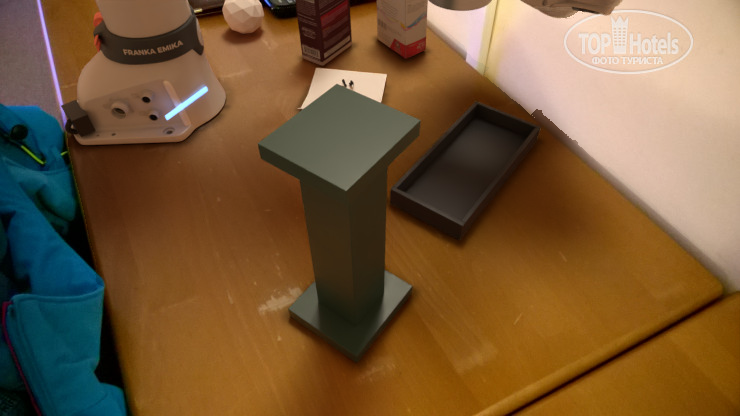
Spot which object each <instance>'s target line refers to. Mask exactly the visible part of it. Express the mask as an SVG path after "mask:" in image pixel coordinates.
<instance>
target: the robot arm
mask: <svg viewBox="0 0 740 416" xmlns="http://www.w3.org/2000/svg"><path fill="white" fill-rule="evenodd" d="M94 1H95V4H96V6H97V8H98V11H97V12H96V13H95V14H94V16H93V21H92V25H93V27H94V29H93V34H92V35H93V38H94V41H93V43H94V47H95V48H96V51H97V53H96V54H95V55H94V56H93V57H92V58H91V59H90V60H89V61H88V62H87V63H86V64H85V65H84V66H83V68H82V70H81V72H80V75H79V76H78V80H77V85H76V97H77V99H74V100H71V101H69V102H66V103H64V104H61V105H60V107H61V109H62V111H63V112H64V114H65V116H66V117H67V120H66V122H65V124H64V128H65V130H66V132H67V133H68V134H71V135H73V138H75V140H76V141H77V143H78V144H80V145H83V146H96V145H98V146H99V145H123V144H125V145H126V144H150V143H151V144H153V143H154V144H155V143H177V142H183V141H184V140H187V138H188V137H189V136H190V135H192V133H193V132H194V131H195V130H196V129H197V128H199V127H200V126H203V124H206V123H207V122H209V121H210V120H212V119H213V118H214V117H216V116H217V115H218V114H219V113H220V111H221V110H222V109H223V107H224V105H225V103H226V99H227V94H226V91H225V89H224V87H223V85H222V84H221V83H220V81H219V80H218V78H217V76H216V74H215V73H214V70H213V68H212V66H211V64H210V61H209V59H208V57H207V55H206V52H205V42H204V37H203V33H202V29H201V26H200V22H199V19H198V18H197V15H196V13H195V10H194V8H193V7H192V5H190V3H189V0H94ZM623 1H624V0H520V2H521V3H523V4H526V5H527V6H529V7H531V8H532V9H534V10H537V11H538V12H540V13H542V14H543V15H545V16H547V17H550V18H554V19H561V18H565V19H568V18H567V17H570V16H572V15H574V14H575V13H577V12H578V11H582V12H584V13H588V14H592V15H602V16H607V17H608V16H610V15H612V13H613V11H614V10H615V8H616V7H618V6H620V5H621V4H622V2H623Z"/></svg>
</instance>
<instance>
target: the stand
mask: <svg viewBox="0 0 740 416" xmlns="http://www.w3.org/2000/svg"><path fill="white" fill-rule="evenodd" d="M421 123H422V119H419V118H417V117H415V116H413V115H410V114H408V113H406V112H404V111H401V110H398V109H396V108H395V107H392V106H389V105H387V104H385V103H382V102H381V103H380V102H378V101H376V100H373V99H371V98H369V97H366V96H364V95H362V94H360V93H357V92H355V91H353V90H350V89H348V88H346V87H343V86H341V85H339V84H336V85H334V86H333V87H332V88H330V89H329V90H328V91H326V92H325V93H324V94H322V95H321V96H320V97H318V98H317V99H316V100H314V101H313V102H312V103H310V104H309V105H308V106H306V107H305V108H304V109H300V111H298V112H297V113H296V114H295V115H293V116H292V117H291V118H289V119H288V120H286V121H285V122H284V123H282V124H280V126H279V127H277V128H276V129H275V130H273V131H272V132H270V133H269V134H267V136H265V137H264V138H262V139H261V140H260V141H259V142H258V143H257V148H258V152H259V157H260V160H262V161H264V162H266V163H267V164H269V165H271V166H273V167H275V168H276V169H278V170H280V171H282V172H283V173H285V174H287V175H289V176H291V177H292V178H295V179H296V180H298V181H299V189H300V194H301V200H302V208H303V214H304V220H305V226H306V232H307V239H308V245H309V251H310V258H311V265H312V270H313V278H314V281H313V282H312V283H311V284H310V285H309V286H308V287H307V288H306V289H305V290H304V291H303V292H302V293H301V295H300V296H299V297H298V298H297V299H295V301H294V302H292V304H291V305H290V306H289V307H288V308H287V310H288V315H289V317H290V318H292V319H293V320H295V322H298V323H299V324H300V325H302V326H303V327H305V328H306V329H308V330H309V331H310V332H312V333H313V334H315V335H316V336H317V337H318V338H320V339H322V340H323V341H324V342H325V343H327V344H329V345H330V346H331V347H333V348H335V349H336V350H337V351H339V352H340V353H341V354H342V355H345V356H346V357H347V358H349V359H350V360H351V361H352V362H354V363H356V364H358V363H359V362H360V360H361V359H362V358H363V357H364V355H365V354H367V351H368V350H369V349H370V348H371V346H372V345H373V344H374V343H375V341H376V340H377V339H378V337H379V336H380V335H381V333H382V332H383V331H384V330H385V329H386V327H387V326H388V325H389V324H390V322H391V321H392V320H393V318H394V317H395V316H396V315H397V313H398V312H399V311H400V310H401V308H402V307H403V306H404V304H405V303H406V302H407V300H408V299H409V298H410V297H411V296H412V294H413V287H414V286H413V285H412V284H410V283H409V282H407V281H406V280H404V279H402V278H400V277H398V276H397V275H395V274H393V273H392V272H390V271H388V270H386V243H387V242H386V241H387V240H386V238H387V237H386V236H387V203H388V171H389V170H388V169H389V166H391V164H392V163H393V162H395V160H396V159H397V158H398V157H399V156H401V155H402V153H403V152H404V151H406V149H408V147H410V146H411V145H412V144H413V143H414V142H415V141H416V140H417V139H418V138H419V137H420V134H421V125H422V124H421Z"/></svg>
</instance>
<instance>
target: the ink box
mask: <svg viewBox="0 0 740 416" xmlns="http://www.w3.org/2000/svg"><path fill="white" fill-rule="evenodd" d="M428 7H429V0H376V32H377V33H376V38H377V40H378V41H380V42H381V43H382V44H384V45H385V46H387V47H388V48H389V49H391V50H392V51H393V52H395V53H396V54H398V55H399V56H401V57H402V58H403V59H409V58H411V57H413V56H416V55H418V54H420V53H422V52H425V51H426V48H427V47H426V46H427V29H428V28H427V27H428V24H427V23H428Z"/></svg>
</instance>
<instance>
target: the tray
mask: <svg viewBox="0 0 740 416" xmlns="http://www.w3.org/2000/svg"><path fill="white" fill-rule="evenodd" d="M541 129H542V126H541V125H538V124H536V123H533V122H531V121H528V120H526V119H523V118H521V117H518V116H516V115H513V114H510V113H508V112H505V111H503V110H500V109H498V108H495V107H493V106H490V105H488V104H486V103H483V102H480V101H478V100H475V101H474V102H473V103H472V104H471V106H469V107H468V108H467V110H465V111H464V113H463V114H462V115H460V117H459V118H458V119H456V121H455V122H454V123H453V124H451V126H450V127H449V128H448V129H447V130H446V131H445V132H444V133H443V134H442V135H441V136H440V137H439V138H438V139H437V141H435V142H434V143H433V144H432V145H431V146H430V147H429V149H428V150H426V151H425V153H423V154H422V156H421V157H420V158H419V159H418V160H417V161H416V162H415V163H414V164H412V165H411V167H409V169H408V170H407V171H406V172H405V173H404V174H403V175H402V176H401V177H400V178H399V179H398V180H397V181H396V182H395V184H393V185H392V186H391V187H390V189H389V204H390V205H393V207H395V208H398V209H400V210H401V211H404V212H405V213H406V214H409V215H411V216H413V217H415V218H416V219H419V220H420V221H422V222H424V223H426V224H427V225H430V226H432V227H434V228H436V229H437V230H439V231H441V232H443V233H445V234H446V235H449V236H451V237H453V238H454V239H457V240H458V241H461V240H462V238H463V237H464V236H465V235H466V233H467V232H468V231H469V230H470V228H471V227H472V226H473V224H474V223H475V221H476V220H477V219H478V218H479V216H480V215H481V214H482V212H483V211H484V210H485V208H486V207H487V206H488V205H489V203H491V201H492V200H493V198H495V196H496V194H497V193H498V192H499V191H500V189H501V188H502V187H503V185H504V184H505V183H506V182H507V180H508V179H509V178H510V177H511V175H512V174H513V172H514V171H516V169H517V167H518V166H519V165H520V163H521V162H522V161H523V160H524V158H525V157H526V156H527V154H528V153H529V152H530V150H532V148H533V147H534V145H535V144H536V143H537V141H538V139H539V135H540V132H541Z"/></svg>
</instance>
